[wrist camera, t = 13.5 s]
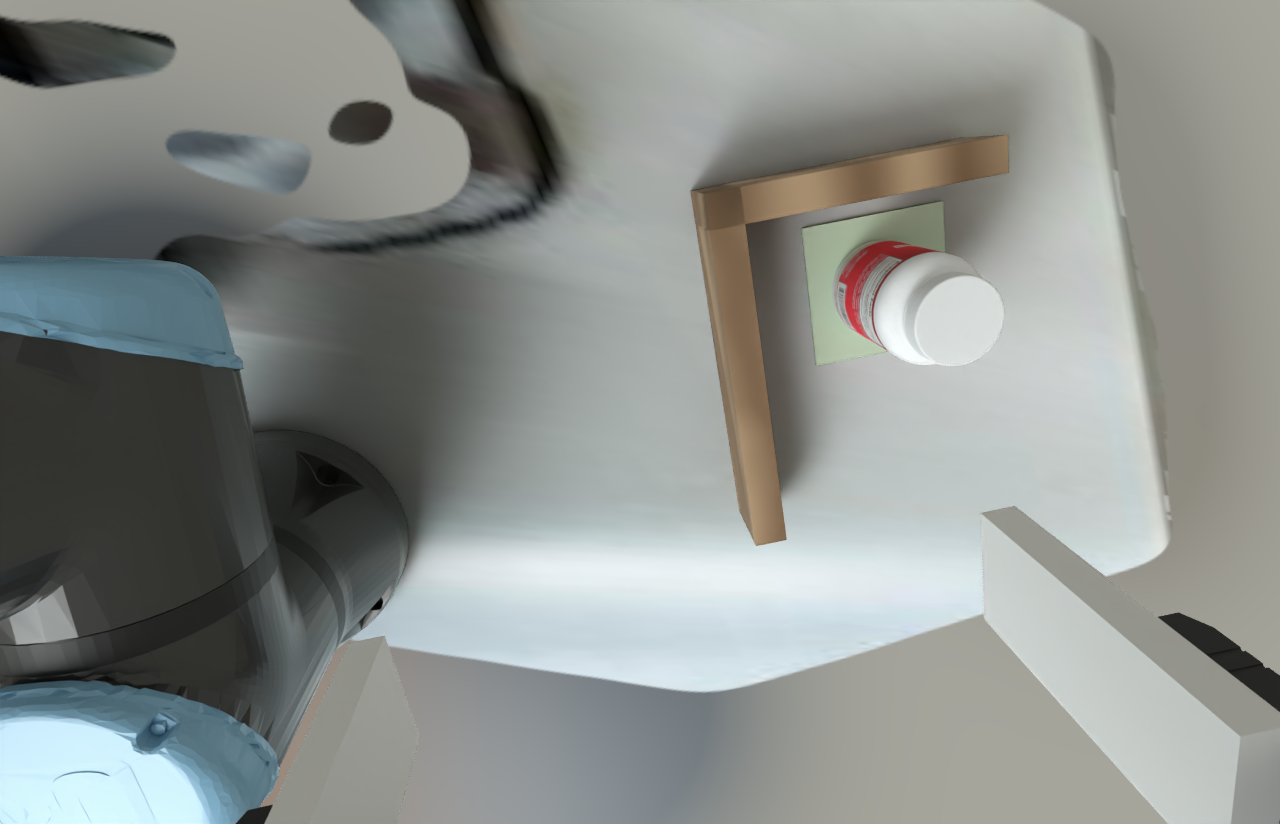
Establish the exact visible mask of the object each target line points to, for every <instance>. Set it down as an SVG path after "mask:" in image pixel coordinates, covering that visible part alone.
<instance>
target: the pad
mask: <svg viewBox="0 0 1280 824" xmlns="http://www.w3.org/2000/svg"><path fill="white" fill-rule="evenodd" d="M801 229H802V239H803V248H804V258H805V267H806V276H807V286H808V295H809V305H810V314H811V323H812V333H813V342H814V351H815V361H816V366H820V365H825V364H830V363H835V362H840V361H845V360H850V359H855V358H860V357H865V356H870V355H875V354H880V353H885V352H888V351H886V350H884V349H883V348H881V347H879V346H878V345H876V344H874V343H873V342H871V341H870V340H868V339H866V338H864V337H862V336H861V335H859V334H857V333H856V332H854V331H852V330H851V329H850V328H848V327H847V326H846V325H845V324H844V323H843V322H842V321H841V320H840V318H839V317H838V315H837V313H836V311H835V308H834V305H833V301H832V285H833V280H834V277H835V274H836V272H837V270H838V268H839V266H840V264H841V263H842V262H843V260H844V259H845V258H846V257H847V256H848V255H849V254H850V253H851V252H852V251H853V250H855V249H856V248H858V247H860V246H861V245H864V244H866V243H868V242H872V241H876V240H892V241H898V242H902V243H906V244H910V245H915V246H919V247H923V248H927V249H931V250H936V251H940V252H945V233H944V210H943V201H939V202H934V203H928V204H923V205H918V206H913V207H908V208H903V209H898V210H893V211H888V212H883V213H878V214H872V215H867V216H862V217H857V218H852V219H847V220H842V221H837V222H832V223H827V224H822V225H816V226H811V227H806V228H801Z"/></svg>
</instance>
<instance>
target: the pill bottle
mask: <svg viewBox="0 0 1280 824" xmlns="http://www.w3.org/2000/svg"><path fill="white" fill-rule="evenodd" d="M832 301H833V305H834V308H835V311H836V313H837V315H838V317H839V318H840V320H841V321H842V322H843V323H844V324H845V325H846V326H847V327H848V328H850V329H851V330H852V331H854V332H856V333H857V334H859V335H861V336H862V337H864V338H866V339H868V340H870V341H871V342H873V343H874V344H876V345H878V346H879V347H881V348H883V349H884V350H886V351H888V352H890V353H891V354H893V355H894V356H896V357H898V358H900V359H902V360H904V361H906V362H909V363H913V364H919V365H932V364H941V365H945V366H959V365H964V364H968V363H970V362H973V361H975V360H977V359H978V358H980V357H981V356H983V355H984V354H985V353H986V352H987V351H988V350H990V349H991V347H992V346H993V345H994V344H995V342H996V341H997V339H998V337H999V335H1000V333H1001V330H1002V327H1003V323H1004V313H1005V312H1004V305H1003V301H1002V299H1001V296H1000V294H999V293H998V291H997V290H996V288H995V287H994V286H993V285H992V284H990V283H989V282H988V281H986V280H984V279H983V278H982V277H981V276H980V274H979V273H978V271H977V270H976V269H975V268H974V267H973V266H972V265H971V264H970V263H968V262H967V261H965V260H964V259H962V258H960V257H958V256H955V255H952V254H948V253H945V252H940V251H936V250H931V249H927V248H923V247H919V246H915V245H910V244H906V243H902V242H898V241H892V240H876V241H872V242H868V243H866V244H864V245H861V246H860V247H858V248H856V249H855V250H853V251H852V252H851V253H850V254H849V255H848V256H847V257H846V258H845V259H844V260H843V262H842V263H841V264H840V266H839V268H838V270H837V272H836V274H835V277H834V280H833V285H832Z"/></svg>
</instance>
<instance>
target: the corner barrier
mask: <svg viewBox="0 0 1280 824" xmlns="http://www.w3.org/2000/svg"><path fill="white" fill-rule="evenodd" d="M1004 173H1009V152H1008V135H997V136H982V137H967V138H959V139H954V140H949V141H944V142H938V143H933V144H928V145H923V146H918V147H913V148H908V149H902V150H897V151H892V152H887V153H882V154H877V155H872V156H867V157H861V158H856V159H851V160H846V161H841V162H836V163H831V164H825V165H820V166H815V167H810V168H805V169H800V170H795V171H789V172H784V173H779V174H774V175H769V176H764V177H759V178H754V179H748V180H743V181H738V182H733V183H728V184H723V185H718V186H712V187H707V188H702V189H697V190H692V191H691V197H692V203H693V210H694V216H695V223H696V229H697V236H698V243H699V249H700V256H701V262H702V269H703V275H704V282H705V288H706V295H707V301H708V308H709V315H710V321H711V328H712V334H713V341H714V347H715V354H716V360H717V367H718V373H719V380H720V387H721V393H722V400H723V406H724V413H725V419H726V426H727V432H728V439H729V445H730V452H731V458H732V465H733V472H734V478H735V485H736V491H737V498H738V504H739V511H740V513H741V515H742V517H743V520H744V522H745V524H746V526H747V528H748V530H749V532H750V534H751V536H752V539H753V541H754V543H755V545H756V546H759V545H764V544H768V543H773V542H778V541H783V540H787V539H786V532H785V524H784V516H783V509H782V501H781V493H780V486H779V478H778V471H777V463H776V455H775V448H774V440H773V432H772V425H771V417H770V410H769V402H768V394H767V387H766V379H765V371H764V364H763V356H762V348H761V341H760V333H759V326H758V318H757V310H756V303H755V295H754V287H753V280H752V272H751V265H750V257H749V249H748V242H747V234H746V226H745V224H749V223H754V222H759V221H764V220H769V219H774V218H779V217H785V216H790V215H795V214H800V213H805V212H810V211H815V210H820V209H825V208H830V207H836V206H841V205H846V204H851V203H856V202H861V201H866V200H871V199H876V198H881V197H887V196H892V195H897V194H902V193H907V192H912V191H917V190H922V189H927V188H933V187H938V186H943V185H948V184H953V183H958V182H963V181H968V180H973V179H978V178H984V177H989V176H994V175H999V174H1004Z"/></svg>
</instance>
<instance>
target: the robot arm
mask: <svg viewBox="0 0 1280 824" xmlns="http://www.w3.org/2000/svg"><path fill="white" fill-rule="evenodd" d="M241 369H244V367H243V361H242V360H241V358H240V357H238V356H237V355H236V354H235V352H234V348H233V345H232V341H231V337H230V334H229V330H228V326H227V323H226V319H225V315H224V312H223V308H222V304H221V301H220V298H219V295H218V293H217V291H216V289H215V288H214V286H213V285H212V284H211V282H210V281H209V280H208V279H207V278H206V277H205V276H203V275H202V274H201V273H199V272H198V271H196V270H194V269H192V268H190V267H188V266H186V265H183V264H179V263H175V262H168V261H158V260H142V259H117V258H83V257H27V256H25V257H23V256H0V824H397V822H398V817H399V814H400V810H401V807H402V803H403V799H404V796H405V792H406V788H407V784H408V780H409V777H410V773H411V769H412V765H413V762H414V758H415V754H416V750H417V747H418V743H419V740H420V735H419V732H418V729H417V726H416V724H415V721H414V718H413V715H412V712H411V709H410V706H409V704H408V701H407V698H406V695H405V692H404V690H403V687H402V684H401V681H400V678H399V676H398V673H397V670H396V667H395V664H394V661H393V659H392V656H391V653H390V650H389V647H388V644H387V641H386V638H385V636H381V637H376V638H371V639H366V640H362V641H357V642H352V643H349V644H348V646H347V649H346V651H345V653H344V655H343V657H342V659H341V661H340V664H339V666H338V668H337V670H336V672H335V674H334V676H333V678H332V681H331V683H330V685H329V687H328V689H327V691H326V693H325V696H324V698H323V700H322V702H321V704H320V706H319V708H318V710H317V713H316V715H315V717H314V719H313V721H312V723H311V725H310V728H309V730H308V732H307V734H306V736H305V738H304V740H303V743H302V745H301V747H300V749H299V751H298V753H297V755H296V758H295V759H294V762H293V764H292V766H291V768H290V770H289V772H288V775H287V777H286V779H285V781H284V783H283V785H282V787H281V789H280V791H279V794H278V796H277V798H276V800H275V802H274V804H273V805H270V806H265V807H260V805H261V803H262V802H263V800H264V799H265V798H266V797H267V796H268V795H269V793H270V792H271V791H272V789H273V787H274V785H275V782H276V780H277V779H278V775H277V774H278V772H279V767H280V764H281V763H282V760H283V759H284V756H285V755H286V752H287V750H288V748H289V746H290V744H291V742H292V740H293V738H294V736H295V734H296V732H297V730H298V727H299V725H300V723H301V721H302V719H303V717H304V715H305V713H306V711H307V709H308V707H309V705H310V702H311V700H312V698H313V696H314V694H315V692H316V690H317V688H318V686H319V684H320V682H321V680H322V677H323V675H324V673H325V671H326V669H327V667H328V665H329V663H330V661H331V659H332V657H333V654H334V652H335V650H337V649H338V648H339V647H341V646H342V645H343V644H344V643H346V642H347V641H348V640H349V639H351V638H352V637H353V636H355V635H356V634H357V633H358V632H360V631H361V630H362V629H363V628H365V627H366V626H367V625H368V624H369V623H371V622H372V621H373V620H374V619H375V618H376V617H377V616H378V615H379V614H380V612H381V611H382V610H383V609H384V607H385V606H386V605H387V603H388V602H389V600H390V599H391V597H392V595H393V593H394V591H395V589H396V586H397V584H398V582H399V579H400V577H401V575H402V572H403V570H404V567H405V563H406V559H407V554H408V528H407V523H406V519H405V515H404V512H403V509H402V507H401V504H400V502H399V500H398V498H397V496H396V494H395V493H394V491H393V489H392V488H391V486H390V485H389V484H388V482H387V481H386V480H385V478H384V477H383V476H382V475H381V474H380V473H379V472H378V471H377V470H376V469H375V468H374V467H373V466H372V465H371V464H370V463H368V462H367V461H366V460H365V459H363V458H362V457H361V456H359V455H358V454H356V453H355V452H353V451H352V450H350V449H348V448H346V447H345V446H343V445H341V444H338V443H336V442H334V441H331V440H329V439H326V438H323V437H320V436H317V435H313V434H309V433H304V432H297V431H286V430H271V431H261V432H255V433H253V430H252V425H251V420H250V416H249V411H248V407H247V402H246V397H245V393H244V388H243V384H242V379H241V374H240V370H241ZM981 542H982V574H983V605H984V620H985V621H986V622H987V623H988V624H989V625H990V626H991V627H992V629H993V630H994V631H995V632H996V633H997V634H998V635H999V636H1000V637H1001V638H1002V640H1003V641H1004V642H1005V643H1006V644H1007V645H1008V646H1009V647H1010V648H1011V650H1012V651H1013V652H1014V653H1015V654H1016V655H1017V656H1018V657H1019V658H1020V660H1021V661H1022V662H1023V663H1024V664H1025V665H1026V666H1027V667H1028V669H1029V670H1030V671H1031V672H1032V673H1033V674H1034V675H1035V676H1036V677H1037V679H1038V680H1040V682H1041V683H1042V684H1043V685H1044V686H1045V687H1046V689H1047V690H1048V691H1049V692H1050V693H1051V694H1052V695H1053V696H1054V697H1055V698H1056V700H1057V701H1058V702H1059V703H1060V704H1061V705H1062V706H1063V707H1064V709H1065V710H1066V711H1067V712H1068V713H1069V714H1070V715H1071V716H1072V717H1073V718H1074V720H1075V721H1076V722H1077V723H1078V724H1079V725H1080V726H1081V727H1082V729H1083V730H1084V731H1085V732H1086V733H1087V734H1088V735H1089V736H1090V737H1091V739H1092V740H1093V741H1094V742H1095V743H1096V744H1097V745H1098V746H1099V747H1100V749H1101V750H1102V751H1103V752H1104V753H1105V754H1106V755H1107V756H1108V757H1109V759H1110V760H1111V761H1112V762H1113V763H1114V764H1115V765H1116V766H1117V767H1118V769H1119V770H1120V771H1121V772H1122V773H1123V774H1124V775H1125V776H1126V778H1128V780H1129V781H1130V782H1131V783H1132V784H1133V785H1134V786H1135V788H1136V789H1137V790H1138V791H1139V792H1140V793H1141V794H1142V795H1143V796H1144V798H1145V799H1146V800H1147V801H1148V802H1149V803H1150V804H1151V805H1152V806H1153V808H1155V810H1156V811H1157V812H1158V813H1159V814H1160V815H1161V816H1162V817H1163V819H1164V820H1165V821H1166V822H1167V823H1168V824H1280V675H1278V674H1277V673H1275V672H1274V671H1273V670H1271V669H1270V668H1265V667H1264V666H1263V663H1261V662H1260V661H1259V660H1257V659H1256V658H1255V657H1253V656H1252V655H1251V654H1249V653H1247V652H1246V651H1244V652H1243V651H1242V650H1241V648H1240V647H1239V646H1238V645H1237V644H1235V643H1234V642H1233V641H1231V640H1230V639H1229V638H1227V637H1226V636H1224V635H1223V634H1222V633H1220V632H1219V631H1218V630H1216V629H1215V628H1213V627H1211V626H1209V625H1206V624H1204V623H1202V622H1199V621H1197V620H1195V619H1192V618H1190V617H1188V616H1185V615H1183V614H1181V613H1174V614H1170V615H1165V616H1160V617H1157V616H1155V615H1154V614H1153V613H1152V612H1150V611H1149V610H1148V609H1146V608H1145V607H1144V606H1143V605H1141V604H1140V603H1139V602H1137V601H1136V600H1135V599H1134V598H1132V597H1131V596H1130V595H1128V594H1127V593H1126V592H1125V591H1123V590H1122V589H1121V588H1119V587H1118V586H1117V585H1115V584H1114V583H1113V582H1112V581H1110V580H1109V579H1108V578H1107V577H1105V576H1104V575H1103V574H1101V573H1100V572H1099V571H1098V570H1096V569H1095V568H1094V567H1092V566H1091V565H1090V564H1089V563H1087V562H1086V561H1085V560H1083V559H1082V558H1081V557H1080V556H1078V555H1077V554H1076V553H1074V552H1073V551H1072V550H1071V549H1069V548H1068V547H1067V546H1065V545H1064V544H1063V543H1062V542H1060V541H1059V540H1058V539H1056V538H1055V537H1054V536H1053V535H1051V534H1050V533H1049V532H1047V531H1046V530H1045V529H1044V528H1042V527H1041V526H1040V525H1038V524H1037V523H1036V522H1035V521H1033V520H1032V519H1031V518H1029V517H1028V516H1027V515H1026V514H1024V513H1023V512H1022V511H1020V510H1019V509H1018V508H1017V507H1015V506H1012V507H1008V508H1003V509H998V510H993V511H988V512H983V513H981ZM259 807H260V808H259Z"/></svg>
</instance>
